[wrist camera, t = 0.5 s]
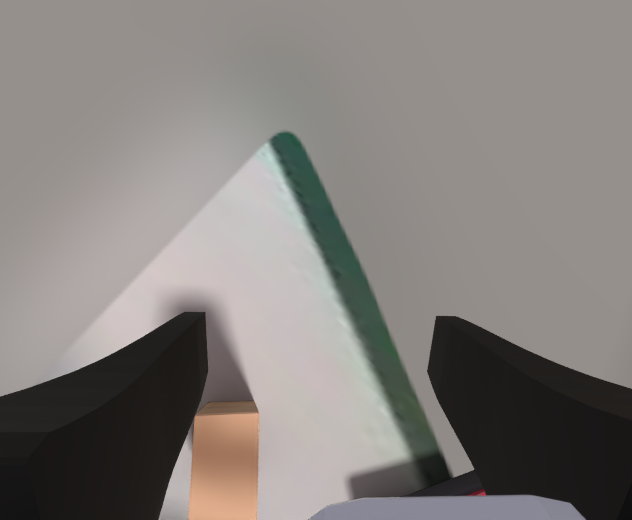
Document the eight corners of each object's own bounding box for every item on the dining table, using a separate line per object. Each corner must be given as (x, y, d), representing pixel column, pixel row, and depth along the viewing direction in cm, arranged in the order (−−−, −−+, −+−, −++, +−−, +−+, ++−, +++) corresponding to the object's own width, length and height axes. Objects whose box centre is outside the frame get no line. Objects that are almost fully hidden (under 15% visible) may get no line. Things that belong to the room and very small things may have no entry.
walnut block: (252, 475, 32) (257, 519, 23) (203, 478, 32) (187, 526, 22) (254, 400, 34) (259, 413, 25) (208, 402, 33) (194, 416, 24)
